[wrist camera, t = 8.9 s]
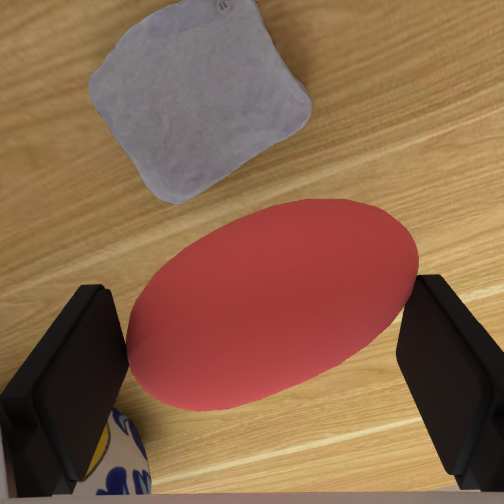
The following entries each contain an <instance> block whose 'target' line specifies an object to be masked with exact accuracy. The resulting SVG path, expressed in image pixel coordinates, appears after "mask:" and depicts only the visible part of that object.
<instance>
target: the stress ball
mask: <svg viewBox="0 0 504 504" xmlns="http://www.w3.org/2000/svg"><path fill="white" fill-rule="evenodd" d="M418 267H419V257H418V251H417V247H416V244H415V242H414V240H413V238H412V236H411V234H410V233H409V232H408V230H407V229H406V228H405V227H404V226H403V225H402V224H401V223H400V222H399V221H397V220H396V219H395V218H393V217H392V216H391V215H389V214H388V213H387V212H385V211H384V210H382V209H380V208H377V207H375V206H371V205H367V204H363V203H359V202H355V201H351V200H347V199H304V200H299V201H294V202H290V203H285V204H280V205H275V206H271V207H268V208H266V209H263V210H260V211H258V212H255V213H253V214H250V215H247V216H245V217H242V218H240V219H237V220H235V221H233V222H231V223H229V224H227V225H225V226H223V227H221V228H219V229H217V230H215V231H213V232H212V233H210V234H208V235H206V236H204V237H203V238H201V239H199V240H198V241H196V242H194V243H193V244H191V245H189V246H188V247H186V248H185V249H183V250H182V251H181V252H180V253H178V254H177V255H176V256H175V257H174V258H172V259H171V260H170V261H169V262H167V263H166V264H165V265H164V266H163V267H161V268H160V269H159V270H158V271H157V272H156V273H155V274H154V276H153V277H152V279H151V280H150V281H149V283H148V284H147V286H146V287H145V288H144V290H143V291H142V293H141V294H140V296H139V297H138V299H137V300H136V302H135V304H134V306H133V309H132V311H131V314H130V319H129V325H128V330H127V335H126V353H127V360H128V363H129V366H130V369H131V371H132V373H133V375H134V377H135V378H136V380H137V382H138V383H139V384H140V385H141V387H142V388H143V389H144V390H145V391H146V392H147V393H149V394H150V395H151V396H152V397H153V398H155V399H157V400H159V401H161V402H162V403H164V404H168V405H171V406H174V407H177V408H181V409H184V410H190V411H211V410H222V409H230V408H233V407H236V406H240V405H243V404H246V403H250V402H253V401H256V400H260V399H262V398H265V397H268V396H270V395H273V394H275V393H278V392H280V391H283V390H285V389H288V388H290V387H292V386H295V385H297V384H300V383H302V382H305V381H307V380H309V379H311V378H313V377H315V376H317V375H319V374H321V373H323V372H325V371H327V370H329V369H331V368H333V367H335V366H337V365H339V364H340V363H342V362H343V361H345V360H346V359H348V358H349V357H351V356H352V355H354V354H355V353H357V352H358V351H360V350H361V349H363V348H364V347H366V346H367V345H368V344H369V343H371V342H372V341H373V340H374V339H375V338H376V337H377V336H378V335H379V334H380V333H382V332H383V331H384V330H385V329H386V328H387V327H388V326H389V325H390V324H391V323H392V322H393V320H394V319H395V318H396V317H397V315H398V314H399V312H400V311H401V310H402V308H403V307H404V305H405V304H406V303H407V301H408V299H409V298H410V296H411V294H412V291H413V287H414V282H415V280H416V277H417V272H418Z"/></svg>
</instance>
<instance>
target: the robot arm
mask: <svg viewBox="0 0 504 504" xmlns="http://www.w3.org/2000/svg"><path fill="white" fill-rule="evenodd" d="M396 358H397V362H398V365H399V367H400V369H401V372H402V374H403V376H404V378H405V381H406V383H407V385H408V387H409V390H410V392H411V394H412V396H413V399H414V401H415V403H416V406H417V408H418V410H419V412H420V415H421V417H422V419H423V421H424V424H425V426H426V428H427V430H428V433H429V435H430V437H431V439H432V442H433V444H434V446H435V449H436V451H437V453H438V455H439V458H440V460H441V462H442V464H443V467H444V469H445V471H446V472H447V473H448V474H449V475H454V477H455V479H456V481H457V484H458V486H459V488H460V490H480V491H481V492H441V491H440V492H439V491H438V492H437V491H422V492H294V493H214V494H152V495H96V496H62V497H52V495H72V494H73V492H74V489H75V487H76V484H77V482H78V480H82V479H83V478H84V477H85V476H86V473H87V471H88V469H89V466H90V464H91V461H92V459H93V456H94V454H95V451H96V448H97V446H98V443H99V441H100V438H101V436H102V433H103V431H104V428H105V426H106V423H107V421H108V418H109V416H110V413H111V411H112V408H113V406H114V403H115V401H116V398H117V395H118V393H119V390H120V388H121V385H122V383H123V380H124V378H125V375H126V373H127V370H128V367H129V363H128V360H127V353H126V344H125V341H124V337H123V333H122V330H121V326H120V322H119V319H118V315H117V311H116V308H115V304H114V300H113V297H112V293H111V291H110V290H109V289H105V287H104V286H103V285H102V284H94V285H81V286H80V287H79V288H78V289H77V291H76V292H75V293H74V295H73V296H72V297H71V299H70V300H69V302H68V303H67V304H66V306H65V307H64V308H63V310H62V311H61V313H60V314H59V315H58V317H57V318H56V319H55V321H54V322H53V323H52V325H51V326H50V328H49V329H48V330H47V332H46V333H45V334H44V336H43V337H42V338H41V340H40V341H39V343H38V344H37V345H36V347H35V348H34V349H33V351H32V352H31V354H30V355H29V356H28V358H27V359H26V360H25V362H24V363H23V364H22V366H21V367H20V369H19V370H18V371H17V373H16V374H15V375H14V377H13V378H12V379H11V381H10V382H9V384H8V385H7V386H6V388H5V389H4V390H3V392H2V393H1V394H0V504H504V352H503V351H502V350H501V348H500V347H499V346H498V345H497V343H496V342H495V341H494V340H493V338H492V337H491V336H490V335H489V333H488V332H487V331H486V330H485V328H484V327H483V326H482V325H481V324H480V323H479V322H478V321H477V320H476V319H475V317H474V316H473V315H472V314H471V312H470V311H469V310H468V308H467V307H466V306H465V305H464V303H463V302H462V301H461V300H460V298H459V297H458V296H457V295H456V293H455V292H454V291H453V290H452V288H451V287H450V286H449V285H448V283H447V282H446V281H445V280H444V278H443V277H442V276H441V275H438V274H434V275H418V276H417V277H416V280H415V282H414V287H413V291H412V294H411V296H410V298H409V299H408V301H407V303H406V304H405V307H404V312H403V317H402V322H401V327H400V333H399V338H398V343H397V348H396Z"/></svg>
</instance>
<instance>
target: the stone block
mask: <svg viewBox="0 0 504 504" xmlns="http://www.w3.org/2000/svg"><path fill="white" fill-rule="evenodd" d="M88 86H89V92H90V96H91V99H92V102H93V105H94V107H95V108H96V110H97V111H98V113H99V114H100V115H101V116H102V118H103V119H104V120H105V123H106V124H107V125H108V128H109V129H110V131H111V133H112V134H113V135H114V137H115V138H116V140H117V141H118V143H119V144H120V145H121V147H122V148H123V150H124V151H125V152H126V153H127V154H128V155H129V157H130V158H131V159H132V161H133V163H134V165H135V167H136V169H137V171H138V172H139V174H140V176H141V178H142V180H143V182H144V183H145V185H146V186H147V188H148V189H149V190H150V191H151V192H152V193H153V194H154V195H155V197H156V198H158V199H160V200H163V201H166V202H170V203H171V204H183V203H184V202H186V201H188V200H190V199H192V198H194V197H195V196H197V195H199V194H201V193H202V192H204V191H205V190H207V189H208V188H209V187H211V186H212V185H214V184H216V183H217V182H219V181H220V180H222V179H223V178H225V177H226V176H228V175H229V174H231V173H232V172H233V171H235V170H236V169H237V168H239V167H240V166H241V165H243V164H244V163H245V162H247V161H248V160H250V159H251V158H253V157H254V156H256V155H257V154H259V153H261V152H263V151H264V150H266V149H268V148H269V147H271V146H272V145H274V144H276V143H278V142H280V141H282V140H285V139H287V138H289V137H290V136H291V135H293V134H294V133H296V132H298V131H299V130H300V129H302V128H303V127H304V126H305V124H306V123H307V122H308V120H309V118H310V115H311V112H312V109H313V107H314V104H313V102H312V100H311V98H310V95H309V93H308V91H307V89H306V88H305V86H304V85H303V83H302V82H300V81H299V80H298V79H297V78H296V77H295V76H294V75H293V74H292V73H291V72H290V70H289V67H288V66H287V65H286V64H285V63H284V61H283V59H282V57H281V56H280V54H279V52H278V51H277V49H276V48H275V46H274V44H273V42H272V39H271V37H270V35H269V33H268V32H267V30H266V27H265V24H264V22H263V18H262V15H261V12H260V9H259V7H258V5H257V4H256V2H255V1H254V0H182V1H180V2H178V3H174V4H171V5H167V6H165V7H163V8H162V9H160V10H157V11H155V12H153V13H151V14H150V15H148V16H147V17H145V18H144V19H143V20H142V21H140V22H139V23H137V24H135V25H134V26H132V27H131V28H129V29H128V30H127V31H126V32H125V33H124V34H123V35H122V37H121V38H120V40H119V41H118V42H117V44H116V46H115V48H114V50H112V51H111V52H109V53H108V54H107V56H106V58H105V60H104V62H103V63H102V64H101V65H100V66H99V67H98V68H97V70H96V71H95V72H94V73H93V74H92V75H91V76H90V79H89V82H88Z"/></svg>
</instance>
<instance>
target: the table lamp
mask: <svg viewBox="0 0 504 504" xmlns="http://www.w3.org/2000/svg"><path fill="white" fill-rule="evenodd" d="M96 495H151V476H150V471H149V465H148V459H147V456H146V452H145V449H144V446H143V444H142V441H141V439H140V437H139V434H138V432H137V430H136V428H135V426H134V425H133V423H132V422H131V421H130V420H129V418H128V417H127V416H126V415H125V414H123V413H122V412H121V411H119V410H118V409H117V408H115V407H113V408H112V411H111V413H110V416H109V418H108V421H107V423H106V426H105V428H104V431H103V433H102V436H101V438H100V441H99V443H98V446H97V448H96V451H95V454H94V456H93V459H92V461H91V464H90V466H89V469H88V471H87V473H86V476H85V477H84V478H83V479H82V480H78V482H77V484H76V487H75V489H74V492H73V494H72V495H52V497H62V496H96Z"/></svg>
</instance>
